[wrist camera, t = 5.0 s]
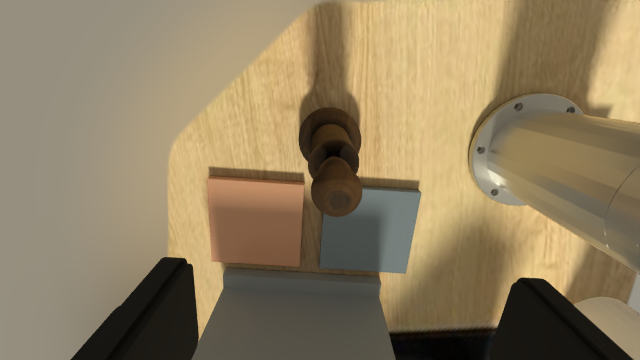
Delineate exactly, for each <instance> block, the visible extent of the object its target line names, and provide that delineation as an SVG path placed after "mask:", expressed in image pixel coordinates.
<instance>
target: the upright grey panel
mask: <svg viewBox="0 0 640 360" xmlns="http://www.w3.org/2000/svg"><path fill="white" fill-rule="evenodd" d="M223 285H224V288H223V290H222V293H221V295H220V297H219V299H218V301H217V303H216V306H215V308H214V310H213V312H212V314H211V316H210V319H209V321H208V323H207V325H206V327H205V329H204V332H203V334H202V336H201V338H200V340H199V342H198V345H197V348H196V351H195V353H194V355H193V357H192V359H191V360H396V359H395V355H394V351H393V348H392V344H391V340H390V336H389V332H388V329H387V325H386V321H385V317H384V314H383V310H382V306H381V302H380V298H379V295H380V289H381V282H380V278H379V277H373V276H357V275H340V274H324V273H307V272H291V271H275V270H258V269H242V268H226V270H225V272H224V274H223Z"/></svg>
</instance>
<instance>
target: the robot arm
mask: <svg viewBox="0 0 640 360" xmlns="http://www.w3.org/2000/svg"><path fill="white" fill-rule="evenodd" d="M514 107H515V108H514ZM478 147H479V149H478ZM477 149H478V150H477ZM468 161H469V170H470V173H471V176H472V179H473V181H474V182H475V184H476V186H477V187H478V188H479V189H480V190H481V191H482V192H483V193H484V194H485V195H487V196H488V197H489V198H491V199H493V200H495V201H497V202H499V203H502V204H506V205H511V206H525V205H528V206H530V207H532V208H533V209H535V210H536V211H538V212H540V213H541V214H543V215H545V216H546V217H548V218H549V219H551V220H553V221H554V222H556V223H557V224H559V225H561V226H562V227H564V228H565V229H567V230H569V231H570V232H572V233H573V234H575V235H577V236H578V237H580V238H581V239H583V240H585V241H586V242H588V243H590V244H591V245H593V246H594V247H596V248H598V249H599V250H601V251H602V252H604V253H606V254H607V255H609V256H610V257H612V258H614V259H615V260H617V261H618V262H620V263H622V264H623V265H625V266H627V267H629V268H630V269H632V270H634V271H635V272H637V273H638V274H640V123H636V122H629V121H623V120H616V119H609V118H602V117H595V116H588V115H585V114H584V113H583V112H582V110H581V109H580V108H579V107H578V106H577V105H576V104H575V103H573V102H572V101H571V100H569V99H567V98H564V97H562V96H560V95H554V94H548V93H534V94H526V95H523V96H519V97H516V98H513V99H511V100H509V101H507V102H506V103H504V104H502V105H501V106H499V107H498V108H497V109H495V110H494V111H493V112H492V113H491V114H490V115H489V116H488V117H487V118H486V119H485V120H484V121H483V123H482V124H481V125H480V127H479V128H478V130H477V132H476V134H475V136H474V138H473V140H472V143H471V147H470V150H469V160H468ZM198 339H199V334H198V322H197V310H196V298H195V287H194V275H193V266H192V264H187V261H186V259H185V258H172V257H164V258H162V259H161V260H160V261H159V262H158V263H157V264H156V266H155V267H154V268H153V269H152V270H151V271H150V273H149V274H148V275H147V276H146V277H145V278H144V279H143V281H142V282H141V283H140V284H139V285H138V286H137V288H136V289H135V290H134V291H133V292H132V293H131V294H130V295H129V297H128V298H127V299H126V300H125V302H123V304H122V305H121V306H119V307H118V308H116V309H115V310H114V311H113V312H112V313H111V314H110V315H109V317H108V318H107V319H106V320H105V321H104V322H103V323H102V325H101V326H100V327H99V328H98V329H97V330H96V331H95V333H94V334H93V335H92V336H91V337H90V338H89V339H88V340H87V342H86V343H85V344H84V345H83V346H82V347H81V348H80V350H79V351H78V352H77V353H76V354H75V355H74V357H73V358H72V359H71V360H191V359H192V357H193V355H194V353H195V351H196V348H197V345H198ZM490 360H634V359H632V358H631V357H630V356H629V355H628V354H627V353H626V352H625V351H624V350H623V349H621V348H620V347H619V346H618V345H617V344H616V343H615V342H614V341H613V340H611V339H610V338H609V337H608V336H607V335H606V334H605V333H604V332H603V331H601V330H600V329H599V328H598V327H597V326H596V325H595V324H594V323H593V322H592V321H590V320H589V319H588V318H587V317H586V316H585V315H584V314H583V313H582V312H580V311H579V310H578V309H577V308H576V307H575V306H574V305H573V304H572V303H570V302H569V301H568V300H567V299H566V298H565V297H564V296H563V295H562V294H561V293H559V292H558V291H557V290H556V289H555V288H554V287H553V286H552V285H551V284H549V283H548V282H547V281H546V280H544V279H539V278H520V279H518V280H517V282H516V283H514V284H512V286H511V289H510V292H509V295H508V298H507V301H506V304H505V307H504V310H503V313H502V316H501V319H500V322H499V325H498V328H497V331H496V334H495V337H494V340H493V343H492V346H491V349H490Z"/></svg>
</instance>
